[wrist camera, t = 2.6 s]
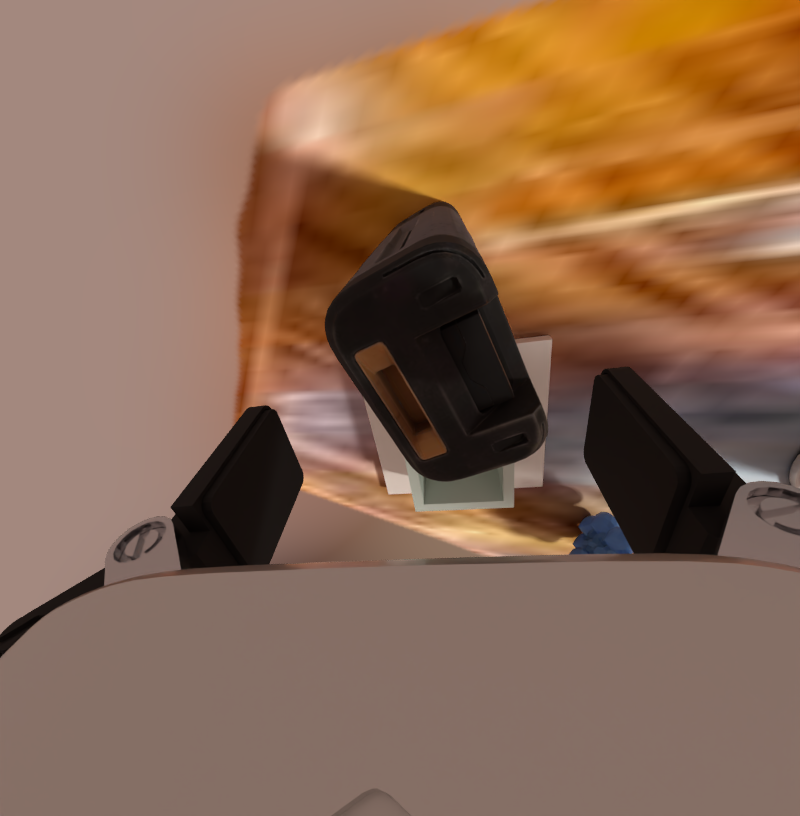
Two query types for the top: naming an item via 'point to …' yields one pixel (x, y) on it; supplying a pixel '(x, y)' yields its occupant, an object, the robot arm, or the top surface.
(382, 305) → the electronic device
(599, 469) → the robot arm
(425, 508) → the dock
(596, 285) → the top surface
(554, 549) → the top surface
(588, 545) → the grapes
